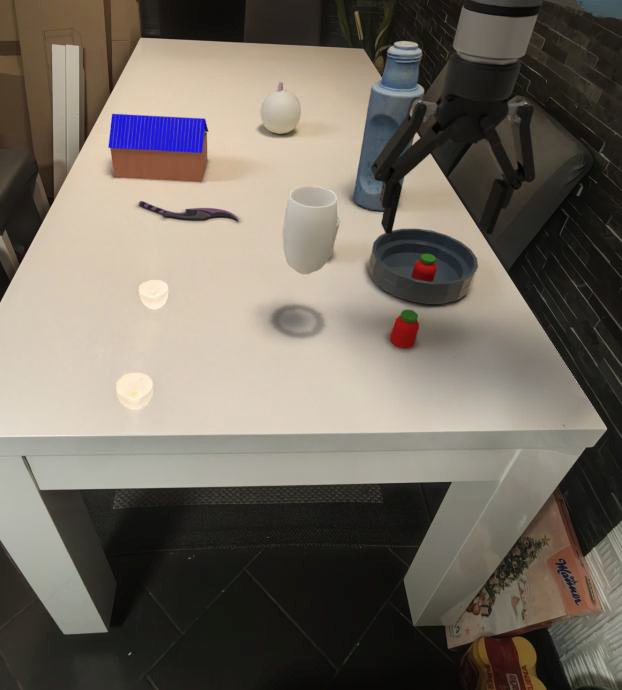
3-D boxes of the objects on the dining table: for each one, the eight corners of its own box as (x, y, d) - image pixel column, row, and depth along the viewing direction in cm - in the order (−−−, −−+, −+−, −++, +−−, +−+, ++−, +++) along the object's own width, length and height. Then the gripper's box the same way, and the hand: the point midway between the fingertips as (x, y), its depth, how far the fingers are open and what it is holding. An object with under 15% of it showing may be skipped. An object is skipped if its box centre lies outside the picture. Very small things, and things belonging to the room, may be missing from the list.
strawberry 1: (419, 342, 82) (427, 315, 78) (404, 352, 80) (412, 325, 76) (399, 329, 84) (407, 303, 80) (384, 339, 82) (391, 313, 79)
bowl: (489, 281, 94) (498, 259, 91) (429, 320, 86) (436, 297, 83) (408, 240, 104) (414, 219, 101) (347, 271, 95) (351, 248, 92)
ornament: (258, 124, 147) (260, 77, 139) (296, 125, 148) (300, 77, 140) (261, 139, 139) (263, 89, 131) (301, 139, 140) (306, 90, 132)
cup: (293, 300, 88) (306, 178, 75) (330, 319, 85) (351, 195, 71) (265, 321, 84) (274, 196, 70) (304, 342, 81) (321, 215, 67)
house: (202, 182, 120) (201, 128, 112) (112, 177, 120) (104, 123, 112) (209, 160, 129) (208, 109, 121) (124, 155, 129) (118, 104, 121)
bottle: (405, 198, 117) (443, 42, 97) (387, 216, 111) (423, 53, 91) (364, 186, 121) (392, 33, 101) (344, 203, 114) (370, 43, 94)
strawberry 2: (436, 283, 92) (444, 258, 89) (423, 291, 90) (431, 266, 87) (418, 274, 94) (425, 249, 91) (405, 281, 92) (412, 256, 89)
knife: (139, 203, 111) (133, 216, 108) (139, 199, 111) (133, 212, 107) (240, 212, 110) (237, 225, 107) (240, 208, 110) (237, 222, 106)
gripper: (580, 48, 63) (514, 215, 77) (366, 43, 62) (339, 214, 76) (615, 67, 57) (538, 243, 71) (381, 62, 56) (349, 243, 70)
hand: (435, 229), depth 73 cm, fingers open, 13 cm apart
